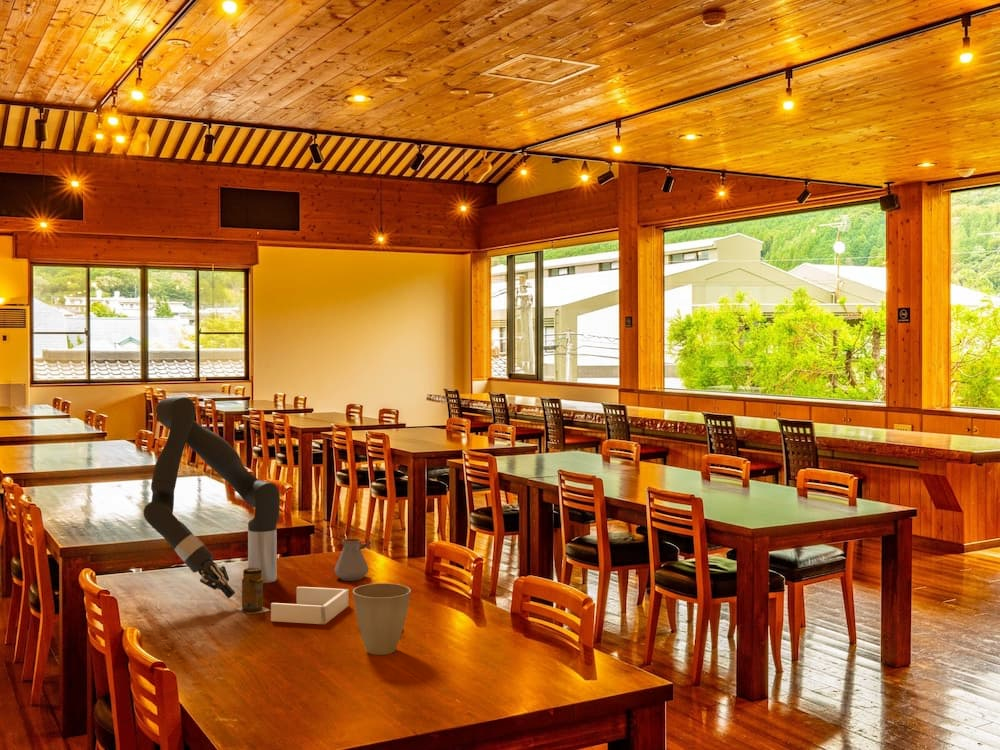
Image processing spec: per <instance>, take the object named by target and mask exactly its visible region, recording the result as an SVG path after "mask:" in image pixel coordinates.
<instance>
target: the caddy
mask: <svg viewBox="0 0 1000 750" xmlns="http://www.w3.org/2000/svg"><path fill="white" fill-rule="evenodd" d="M349 592H350V589H349V588H333V587H331V588H330V587H315V586H314V587H312V586H311V587H310V586H297V587H296V603H283V602H282V603H281V602H271V603H270V610H271V611H270V621H271V622H277V623H279V622H281V623H298V624H309V625H310V624H314V625H315V624H316V625H326V624H327V623H329V622H330V621H331V620H332V619H334V618H335V617H336V616H338V615H339V614H341V612H343V611H344V610H345V609H346V608H348V607H349V606H350V605H349V600H350V599H349V597H350V596H349V595H350V593H349Z"/></svg>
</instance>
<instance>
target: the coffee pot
mask: <svg viewBox="0 0 1000 750" xmlns="http://www.w3.org/2000/svg"><path fill="white" fill-rule="evenodd" d="M361 542H362V539H360V538H344V539H342V540H341V543H342V545H343V548H342V551H341V552H340V554H339V555H340V556H339V558H338V560H337V562H336V565H335V567H334V573H335V576H337V577H338V578H339V580H343V581H347V582H348V581H349V582H351V581H359V580H362V579H364V577H365V576H366V575H367V574H368V572H369V566H368V564H367V562H366V559H365V557H364V555H363V552H362V549H365V548H368V549H372V548H373V546H371V547H369V546H370V545H371V544H372V545H374V544H373V542H371V541H368V542H365V543H363V544H362V545H360V544H361Z"/></svg>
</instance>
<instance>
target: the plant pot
mask: <svg viewBox="0 0 1000 750" xmlns="http://www.w3.org/2000/svg"><path fill="white" fill-rule="evenodd" d="M352 596H353V603H354V609H355V610H354V611H355V616H356V619H357V626H358V625H359V627H358V628H359V629H358V630H359V633H360V636H361V638H362V641H363V646H364V647H365V650H366V652H367V653H369V654H370V655H373V656H374V655H375V656H386V655H390V654H394V653H395V652H396V649H397V647H398V645H399V642H400V639H401V636H402V633H403V630H404V627H405V621H406V618H407V613H408V609H409V603H410V598H411V588H410V587H408V586H406V585H403V584H399V583H398V584H397V583H389V582H388V583H387V582H383V583H380V582H378V583H368V584H363V585H359V586H357V587H355V588H353V589H352Z"/></svg>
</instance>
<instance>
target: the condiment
mask: <svg viewBox="0 0 1000 750" xmlns="http://www.w3.org/2000/svg"><path fill="white" fill-rule="evenodd" d="M261 576H262V574H261V569H260V568H248V567H247V568H245V569H243V575H242V580H241V607H236V608H235V609H236V610H238V611H240V612H243V613H245V614H247V615H252V614H253V615H255V614H260V613H261V614H262V613H265V612H269V611H270V612H271V609H269V608H267V607H264V606H263V605H264V604H263V601H264V583H263V579H262V577H261Z"/></svg>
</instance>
